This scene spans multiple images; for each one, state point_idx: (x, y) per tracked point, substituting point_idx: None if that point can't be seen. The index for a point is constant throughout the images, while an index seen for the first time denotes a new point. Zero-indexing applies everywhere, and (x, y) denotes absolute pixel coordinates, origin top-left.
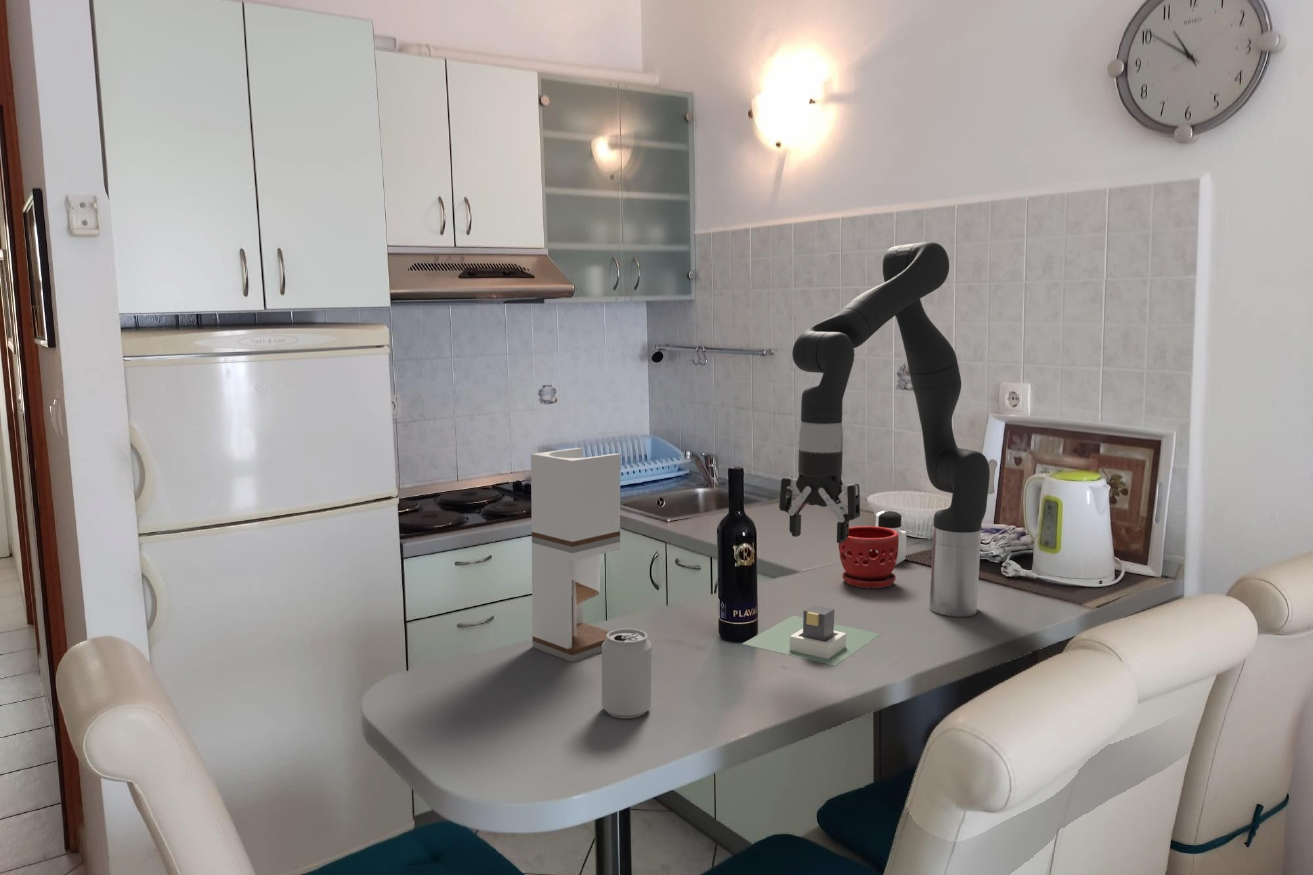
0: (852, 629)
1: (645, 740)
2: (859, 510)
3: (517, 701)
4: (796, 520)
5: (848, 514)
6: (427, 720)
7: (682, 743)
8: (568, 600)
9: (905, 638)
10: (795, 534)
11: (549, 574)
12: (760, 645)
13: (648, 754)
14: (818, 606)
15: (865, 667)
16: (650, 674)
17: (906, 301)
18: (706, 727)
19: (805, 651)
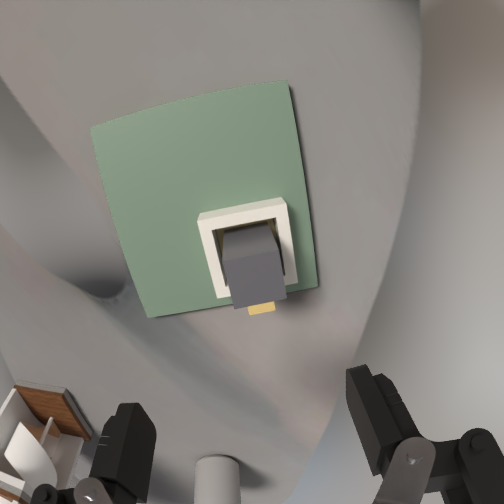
0: (228, 97)
1: (269, 471)
2: (499, 457)
3: (153, 480)
4: (143, 483)
5: (443, 491)
6: (153, 500)
7: (293, 462)
8: (71, 479)
9: (312, 41)
10: (154, 437)
11: None
12: (171, 303)
13: (286, 475)
14: (238, 261)
15: (340, 226)
16: (236, 486)
17: None
18: (290, 446)
19: None
